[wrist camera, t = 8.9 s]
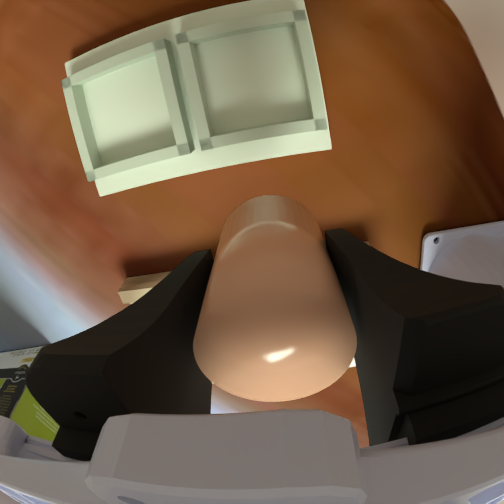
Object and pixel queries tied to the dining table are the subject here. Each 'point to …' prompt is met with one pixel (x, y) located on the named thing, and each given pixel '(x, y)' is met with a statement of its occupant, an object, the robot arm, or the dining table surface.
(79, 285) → the dining table surface
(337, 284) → the peg
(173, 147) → the socket board
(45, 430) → the tea box
